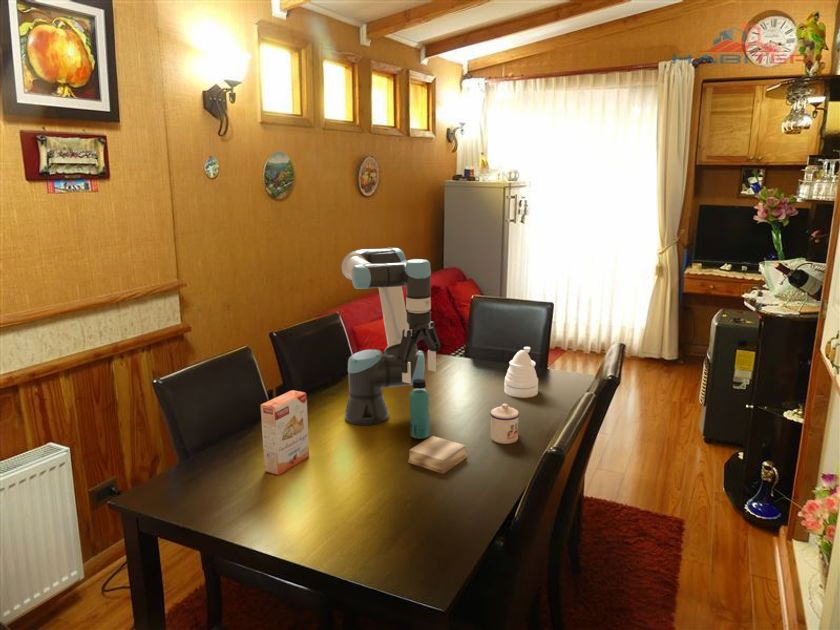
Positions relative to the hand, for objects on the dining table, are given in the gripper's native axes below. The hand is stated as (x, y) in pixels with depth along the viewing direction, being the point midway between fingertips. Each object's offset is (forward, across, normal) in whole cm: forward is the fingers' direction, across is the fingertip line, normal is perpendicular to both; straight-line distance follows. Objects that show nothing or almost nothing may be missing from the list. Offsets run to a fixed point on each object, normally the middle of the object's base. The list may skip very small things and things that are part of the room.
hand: (419, 376), depth 196 cm
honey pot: (+22, +57, -7) cm, 61 cm away
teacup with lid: (+22, +17, -22) cm, 35 cm away
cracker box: (+22, -36, +22) cm, 48 cm away
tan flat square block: (+21, -9, -13) cm, 26 cm away
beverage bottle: (+21, 0, 0) cm, 21 cm away
